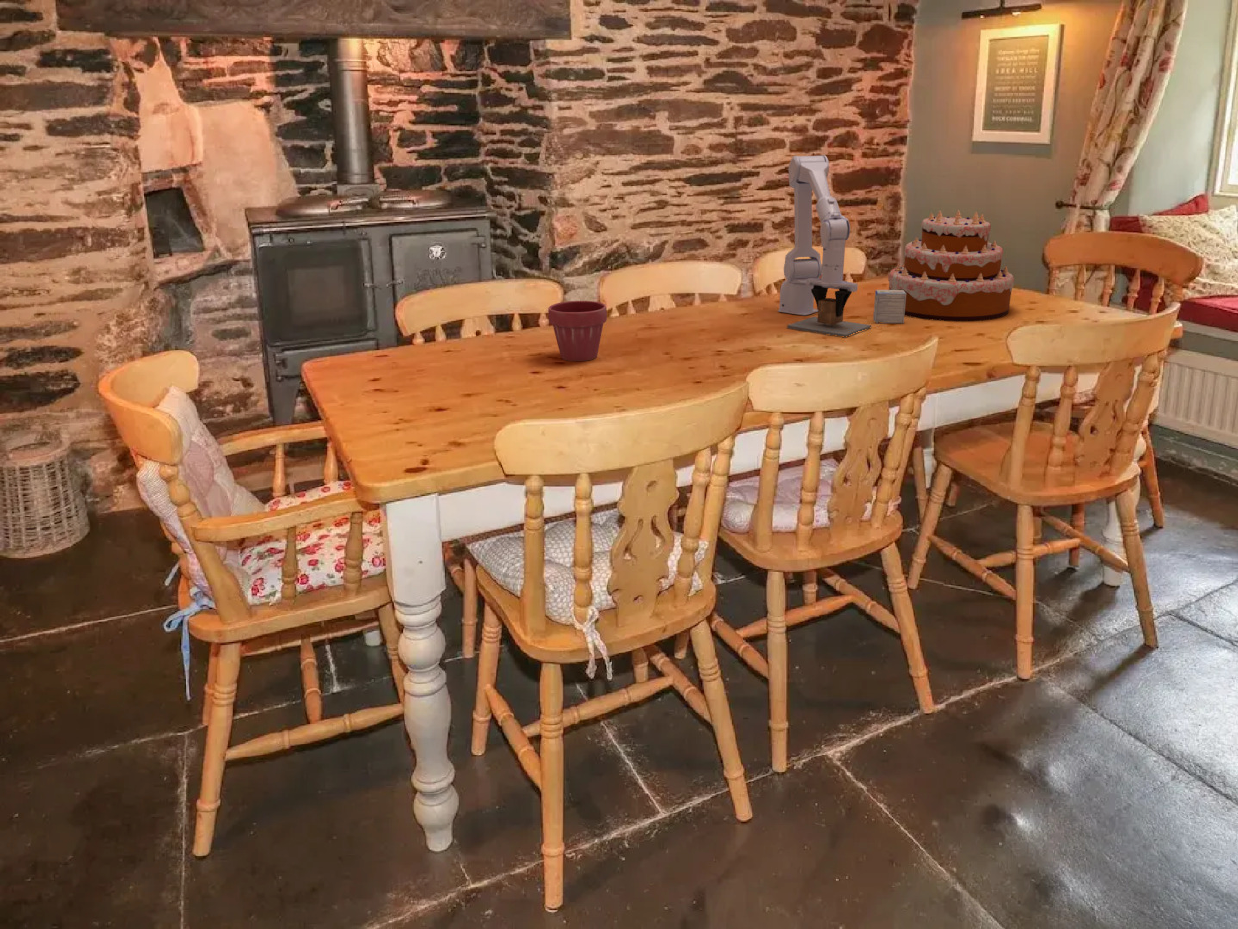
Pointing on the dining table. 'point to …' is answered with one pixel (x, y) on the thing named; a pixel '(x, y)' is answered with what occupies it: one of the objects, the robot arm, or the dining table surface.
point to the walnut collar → (828, 312)
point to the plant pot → (578, 328)
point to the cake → (954, 272)
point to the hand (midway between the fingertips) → (829, 314)
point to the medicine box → (889, 306)
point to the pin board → (828, 327)
